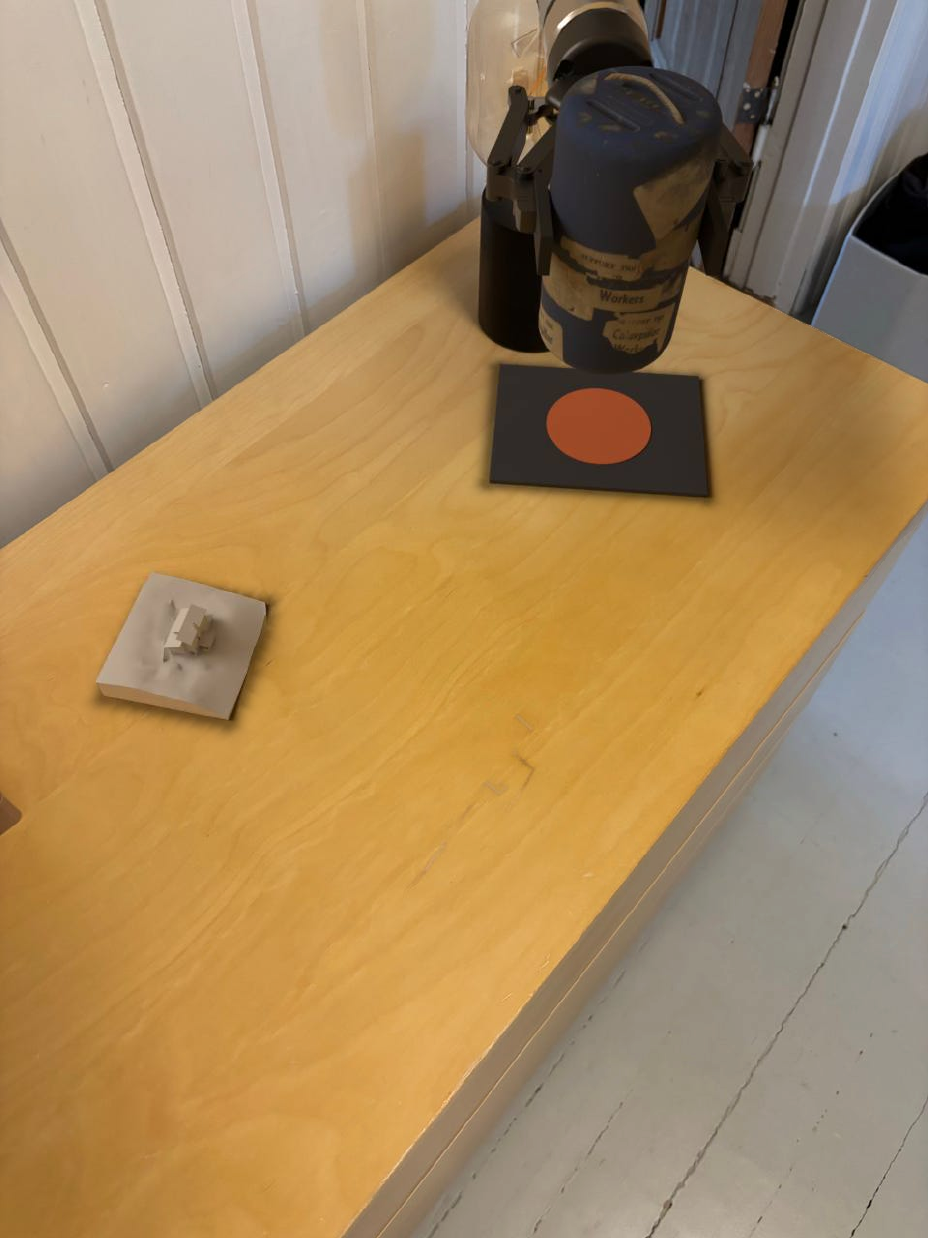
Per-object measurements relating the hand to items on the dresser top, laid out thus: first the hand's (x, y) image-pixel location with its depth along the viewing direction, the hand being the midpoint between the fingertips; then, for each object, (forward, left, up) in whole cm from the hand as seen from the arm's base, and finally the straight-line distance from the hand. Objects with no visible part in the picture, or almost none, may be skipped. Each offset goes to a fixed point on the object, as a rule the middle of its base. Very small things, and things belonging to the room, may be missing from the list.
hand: (631, 256), depth 56 cm
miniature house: (+29, +16, -24) cm, 41 cm away
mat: (-1, -9, -24) cm, 26 cm away
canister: (0, -4, -10) cm, 11 cm away
